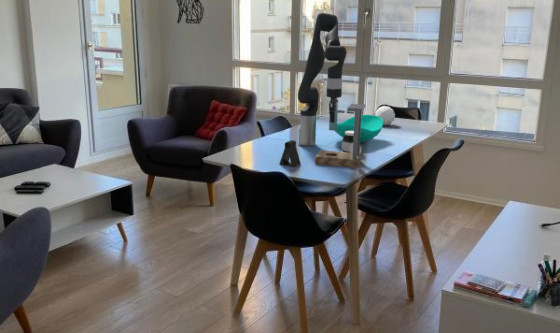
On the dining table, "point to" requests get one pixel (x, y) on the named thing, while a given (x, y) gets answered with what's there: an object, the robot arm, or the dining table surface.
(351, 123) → the table top decor
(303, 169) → the dining table surface
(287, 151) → the phone stand
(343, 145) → the spread jar
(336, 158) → the sheltered socket
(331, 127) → the peg
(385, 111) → the geodesic sphere
